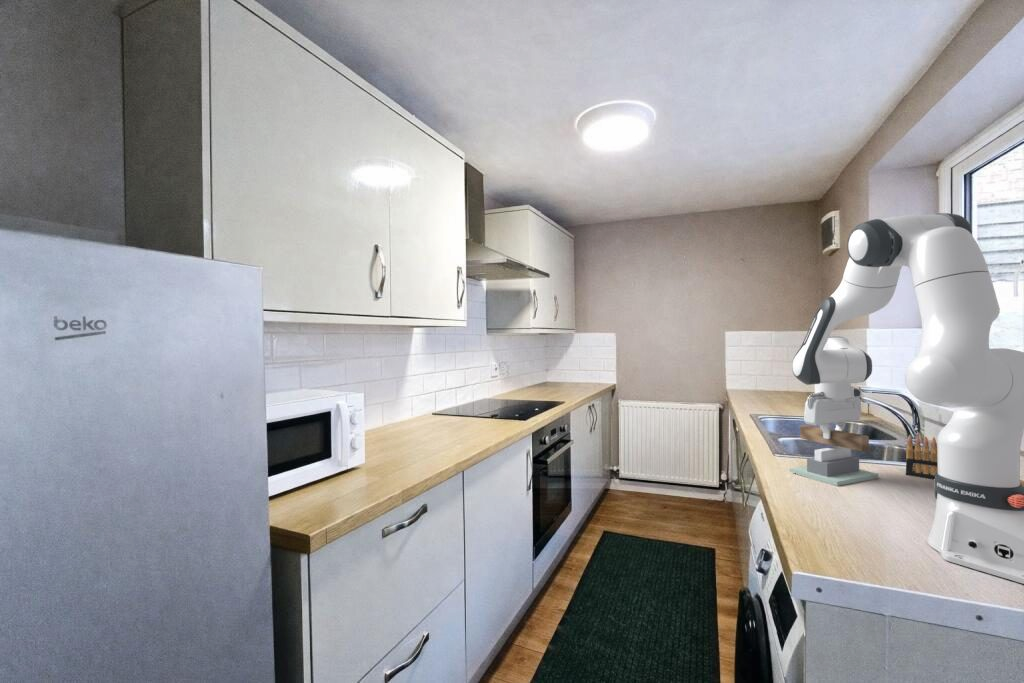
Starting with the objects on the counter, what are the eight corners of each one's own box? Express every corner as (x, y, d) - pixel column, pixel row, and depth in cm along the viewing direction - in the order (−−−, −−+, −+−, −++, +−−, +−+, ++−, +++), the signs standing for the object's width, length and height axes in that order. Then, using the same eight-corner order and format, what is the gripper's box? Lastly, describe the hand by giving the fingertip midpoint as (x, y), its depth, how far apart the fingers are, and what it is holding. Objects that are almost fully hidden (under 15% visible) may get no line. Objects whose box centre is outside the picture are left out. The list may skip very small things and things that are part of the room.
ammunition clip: (905, 475, 135) (905, 434, 135) (906, 473, 137) (905, 433, 136) (955, 482, 128) (955, 440, 128) (956, 481, 129) (955, 438, 129)
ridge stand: (878, 477, 133) (878, 450, 133) (836, 486, 126) (836, 457, 126) (829, 465, 146) (829, 440, 146) (789, 472, 139) (789, 446, 139)
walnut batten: (868, 450, 128) (868, 436, 128) (861, 451, 127) (861, 437, 127) (806, 437, 145) (806, 424, 145) (800, 438, 144) (800, 425, 144)
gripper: (818, 394, 129) (819, 443, 129) (865, 390, 137) (866, 436, 137) (797, 392, 135) (798, 438, 135) (843, 388, 143) (844, 432, 143)
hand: (832, 437), depth 136 cm, fingers closed on walnut batten, 3 cm apart
